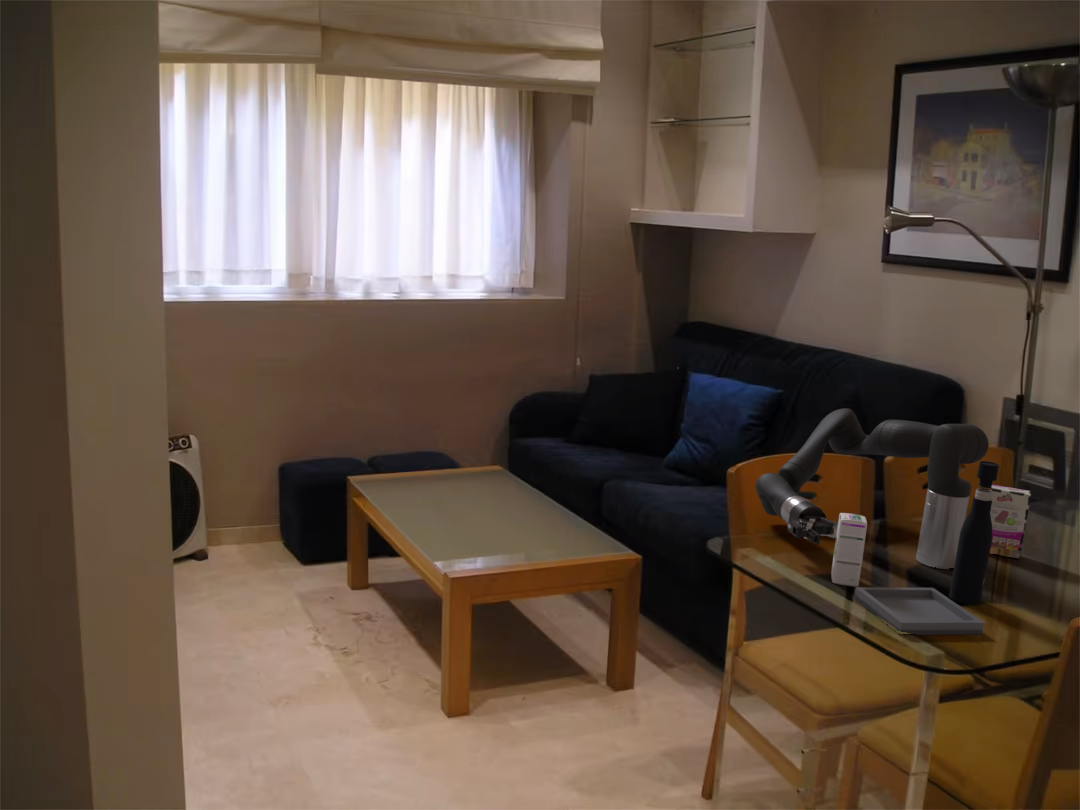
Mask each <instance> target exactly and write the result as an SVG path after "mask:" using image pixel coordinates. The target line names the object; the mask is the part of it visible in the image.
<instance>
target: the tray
mask: <svg viewBox="0 0 1080 810" xmlns="http://www.w3.org/2000/svg"><path fill="white" fill-rule="evenodd" d="M853 599H854V600H855V601H856V602H858V603H859V604H860V605H861V606H863V607H864V608H865V609H866V610H867V611H869V612H870V611H871V612H872V613H871V612H870V613H871V614H873V613H874V614H875V615H877V616H879V617H880V618H881V619H883V620H884V621H886V622H887V623H889V624H890V625H892V626H893V627H895V628H896V629H897V630H898V631H901V632H907V633H911V634H916V635H915V636H920V635H921V636H930V635H931V636H933V635H934V636H935V635H937V636H938V635H939V636H945V635H946V636H947V635H948V636H950V635H951V636H956V635H958V636H959V635H960V636H961V635H963V636H965V635H967V636H969V635H971V636H973V635H978V636H979V635H983V631H984V625H985V622H984V621H982V620H981V619H979V618H978V617H977V616H975V615H974V614H972V613H971V612H970V611H968V610H967V609H966V608H963V607H962V606H961V605H959V604H957V603H956V601H954V600H952V599H951V598H950V597H947V596H946V595H944V594H943V593H942V592H940V591H939V590H937V589H936V588H935V587H882V586H881V587H876V586H873V587H872V586H869V587H866V586H865V587H864V586H863V587H861V586H858V587H855V590H854V596H853ZM874 614H873V615H874ZM875 615H874V616H875Z"/></svg>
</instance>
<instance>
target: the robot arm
mask: <svg viewBox="0 0 1080 810" xmlns="http://www.w3.org/2000/svg"><path fill="white" fill-rule="evenodd" d="M988 438H989V437H987V434H986V433H985V432H984V430H983V429H981V428H980V427H978V426H977V425H974V424H970V423H945V424H941V425H936V424H930V423H926V422H919V421H914V420H913V421H912V420H904V419H902V420H901V419H887V420H884V421H882V422H880V423H879V424H878V425H877V426H875V428H874V429H873V430H872V432H871V433H870V434H866V433H865V432H864V431H863V429H862V425H861V424H860V422H859V420H858V418H857V415H856V414H855V412H854V410H852V409H850V408H846V407H845V408H839V409H835V410H834V411H832V412H831V411H830V413H829V414H827V415H826V416H825V417H824V418H822V420H820V422H819V423H818V425H817V426H816V427H815V429H814V430H813V431H812V433H811V434H810V436H808V438H807V440H806V441H805V443H804V444H803V445H802V447H800V449H799V450H798V451H797V452H796V453H795V454H794V455H793V456H792V457H791V458H789V460H788V461H786V463H784V464H783V465H782V466H781V467H780V468H779V470H778V472H779V473H774V472H766V473H764V474H761V475H760V476H759V477H758V478H757V480H756V482H755V490H756V493H757V496H758V499H759V501H760V504H761V506H762V509H763V510H764V512H765V513H766V514H767V515H770V516H775V517H776V516H778V517H780V519H782V520H783V521H784V522H785V523H786V525H787V528H786V529H787V531H788V532H789V533H790V534H792V536H793V537H795V538H796V539H801V538H802V537H803V539H806V540H809V541H811V542H812V543H813V544H815V545H819V544H821V543H820V542H821V536H822V537H824V536H825V537H826V536H827V537H829V538H832V539H836V534H837V527H838V521H839V518H838V519H837V521H833V520H830V519H829V518H827V516H826V514H825V512H824V511H823V509H821V507H818V505H816V504H815V503H813V502H812V501H811V500H808V499H807V498H805V497H802V496H801V495H799V493H800V491H801V488H802V487H803V486H804V485H805V484H806V483H807V482H808V481H810V480H811V479H812V478H813V477H814V475H816V473H817V471H818V469H819V468H820V466H821V462H822V459H823V456H824V453H825V450H826V446H827V445H828V444H829V447H830V448H831V450H832V451H833V452H834V453H836V454H840V455H877V456H878V455H879V456H886V457H892V458H899V459H901V458H902V459H917V458H918V459H919V458H928V461H927V462H928V463H927V471H926V473H927V481H928V485H927V492H926V496H925V502H924V508H923V515H922V519H921V520H922V521H921V525H920V532H919V538H918V544H917V549H916V556H915V560H916V561H917V562H919V563H920V564H922V565H925V566H928V567H932V568H935V567H936V569H942V570H950V569H949V568H954V564H955V559H956V553H957V548H958V542H959V536H960V531H961V528H962V526H963V523H964V521H965V519H966V517H967V515H968V514H967V513H968V509H969V501H970V497H971V493H972V492H971V491H972V485H971V483H970V481H968V480H967V479H964V478H962V477H960V475H959V471H960V465H971V464H974V463H977V462H980V461H981V460H982V459H983V458H984V457H985V456H986V454H987V453H988V450H989V445H990V443H989V439H988ZM787 482H788V483H787ZM832 531H833V533H832Z"/></svg>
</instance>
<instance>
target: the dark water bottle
mask: <svg viewBox="0 0 1080 810" xmlns="http://www.w3.org/2000/svg"><path fill="white" fill-rule="evenodd" d="M978 462H979V463H978V468H977V474H976V477H977V478H978V479H979V482H978V485H977V486H978V487H977V488H976V490H975V494H974V497H973V498H972V503H971V504H972V505H971V509H970V510H969V512H968V514H967V515H966V519H965V521H964V523H963V526H962V528H961V531H960V536H959V542H958V548H957V553H956V559H955V564H954V569H953V571H952V577H951V582H950V589H949V594H948V598H949V599H950V600H952V601H953V602H957V603H960V604H964V605H969V606H970V605H971V606H975V605H976V606H977V605H980V604H981V602H982V595H983V592H984V591H983V590H984V585H985V580H986V575H987V570H988V564H989V560H990V559H989V558H990V555H991V554H990V549H991V543H992V522H991V516H990V511H991V505H992V500H991V498H992V497H991V495H992V491H990V490H991V489H992V485H993V482H996V481H997V480H998V474H999V469H1000V468H999V467H1000V465H999V464H998V463H996V462H992V461H988V460H987V461H985V460H979V461H978Z"/></svg>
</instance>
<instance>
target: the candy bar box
mask: <svg viewBox="0 0 1080 810" xmlns="http://www.w3.org/2000/svg"><path fill="white" fill-rule="evenodd" d="M990 491H992V495H991V497H992V498H991V500H992V505H991V511H990V516H991V522H992V543H991V547H992V548H997V549H998V548H999V549H1009V550H1017V551H1021V552H1022V549H1023V544H1024V538H1025V532H1026V526H1027V520H1028V516H1029V511H1030V509H1029V508H1030V504H1031V503H1030V502H1031V499H1032V498H1031V497H1032V494H1031V493H1032V492H1031V490H1026V489H1019V488H1015V487H1009V486H1003V485H997V484H992V489H991V490H990Z"/></svg>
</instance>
